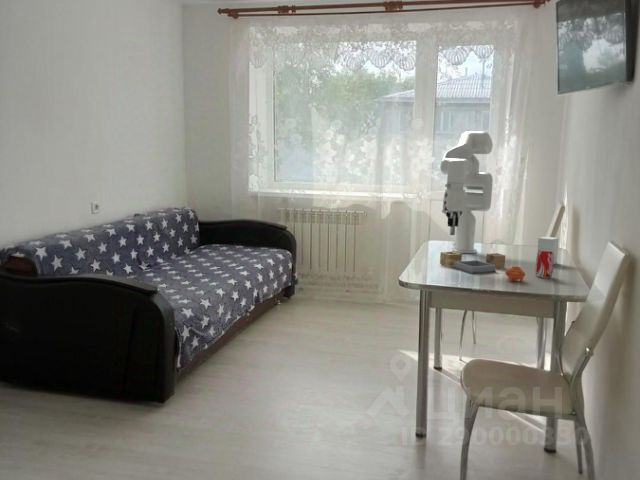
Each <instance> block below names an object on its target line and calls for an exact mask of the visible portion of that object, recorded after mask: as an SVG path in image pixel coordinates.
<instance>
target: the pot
mask: <svg viewBox="0 0 640 480" xmlns="http://www.w3.org/2000/svg"><path fill="white" fill-rule="evenodd" d="M505 275H506V276H507V278H508V281H509V283H510V282H512V280H515V281H517V280H520V283H521V282H523V280H524V278H525V277H526V273H525V271H524V270H523V269H522V268H521V267H519V266H513V265H512V266H511V267H509V268H507V269H506V270H505Z"/></svg>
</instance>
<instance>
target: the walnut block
mask: <svg viewBox="0 0 640 480" xmlns="http://www.w3.org/2000/svg"><path fill="white" fill-rule="evenodd" d="M485 256H486V257H485V262H486V263H489V264H493V265H496V270H497V269H505V268H506V267H505V266H506V254H502V253H498V252H493V253H486V255H485Z"/></svg>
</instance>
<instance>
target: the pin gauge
mask: <svg viewBox="0 0 640 480" xmlns="http://www.w3.org/2000/svg"><path fill="white" fill-rule="evenodd" d="M452 218H453V227H450V226H449V236H456V226H455V222H456V212H453V216H452Z"/></svg>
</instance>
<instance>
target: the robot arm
mask: <svg viewBox="0 0 640 480" xmlns="http://www.w3.org/2000/svg"><path fill="white" fill-rule="evenodd" d="M493 145H494V144H493V140H492V137H491V135H490V134H489V133H488V132H486V131H471V130H470V131H465V132H462V133H461V135H460V136H459V139H458V142H457V144H456V146H455V147H452V148H451V149H448V150H447V151H446V152H444V155H443V156H442V159H441V162H440V171H441V173H442V174H443V175H447V176H446V183H445V185H444V187H445V188H446V189H445V191H444V194H443V201H442V211H441V213H442V214H443V215H445V216H446V218H447V227H449V228H450V227H453V218H452V216H453V212H456V222H455V228H456V231H455V242H453V243H452V245H453V246H454V247H453V248H452V251H453V252H457V253H460V254H475V253H477V252H478V250H477V249H476V248H475V236H476V222H477V221H476V216H475V215H474V213H473V212H488V211H489V210H490V209H491V205H492V197H493V196H492V195H493V184H494V182H493V181H494V180H493V175H492V174H491V173H490V172H485V171H480V160H479V159H478V157H477V156H476V155H489V154H490V153H491V152H492V151H493V147H494V146H493ZM466 190H471V192H470V191H466ZM473 191H482V192H473ZM472 211H473V212H472Z"/></svg>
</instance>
